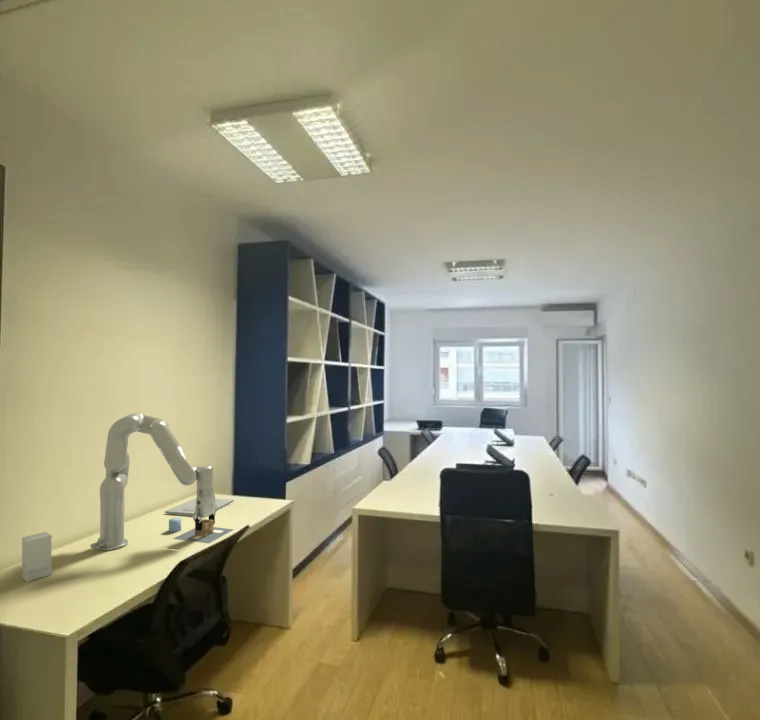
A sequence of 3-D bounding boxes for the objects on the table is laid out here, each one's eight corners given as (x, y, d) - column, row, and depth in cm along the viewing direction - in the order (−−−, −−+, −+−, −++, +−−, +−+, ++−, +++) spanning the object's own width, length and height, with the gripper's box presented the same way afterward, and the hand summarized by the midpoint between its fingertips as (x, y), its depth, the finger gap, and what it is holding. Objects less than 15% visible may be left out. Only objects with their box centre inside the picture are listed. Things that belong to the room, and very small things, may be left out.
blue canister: (175, 534, 229) (175, 521, 229) (166, 533, 231) (166, 520, 231) (183, 530, 235) (183, 518, 235) (174, 529, 236) (174, 517, 236)
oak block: (205, 536, 224) (205, 523, 224) (194, 535, 226) (195, 522, 226) (213, 532, 230) (213, 520, 230) (203, 531, 232) (203, 518, 232)
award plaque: (164, 515, 261) (165, 511, 261) (197, 500, 290) (197, 497, 290) (204, 518, 256) (204, 514, 256) (233, 503, 285) (233, 499, 285)
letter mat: (208, 544, 215) (208, 543, 215) (172, 540, 221) (172, 538, 221) (234, 530, 235) (234, 529, 235) (200, 526, 240) (200, 525, 240)
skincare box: (46, 570, 187) (47, 531, 187) (52, 575, 183) (52, 534, 183) (20, 577, 180) (21, 536, 181) (25, 582, 176) (26, 540, 176)
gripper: (200, 496, 219) (200, 534, 219) (222, 487, 236) (222, 522, 235) (186, 495, 221) (186, 532, 221) (209, 486, 238) (210, 521, 237)
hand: (205, 527), depth 228 cm, fingers open, 9 cm apart
